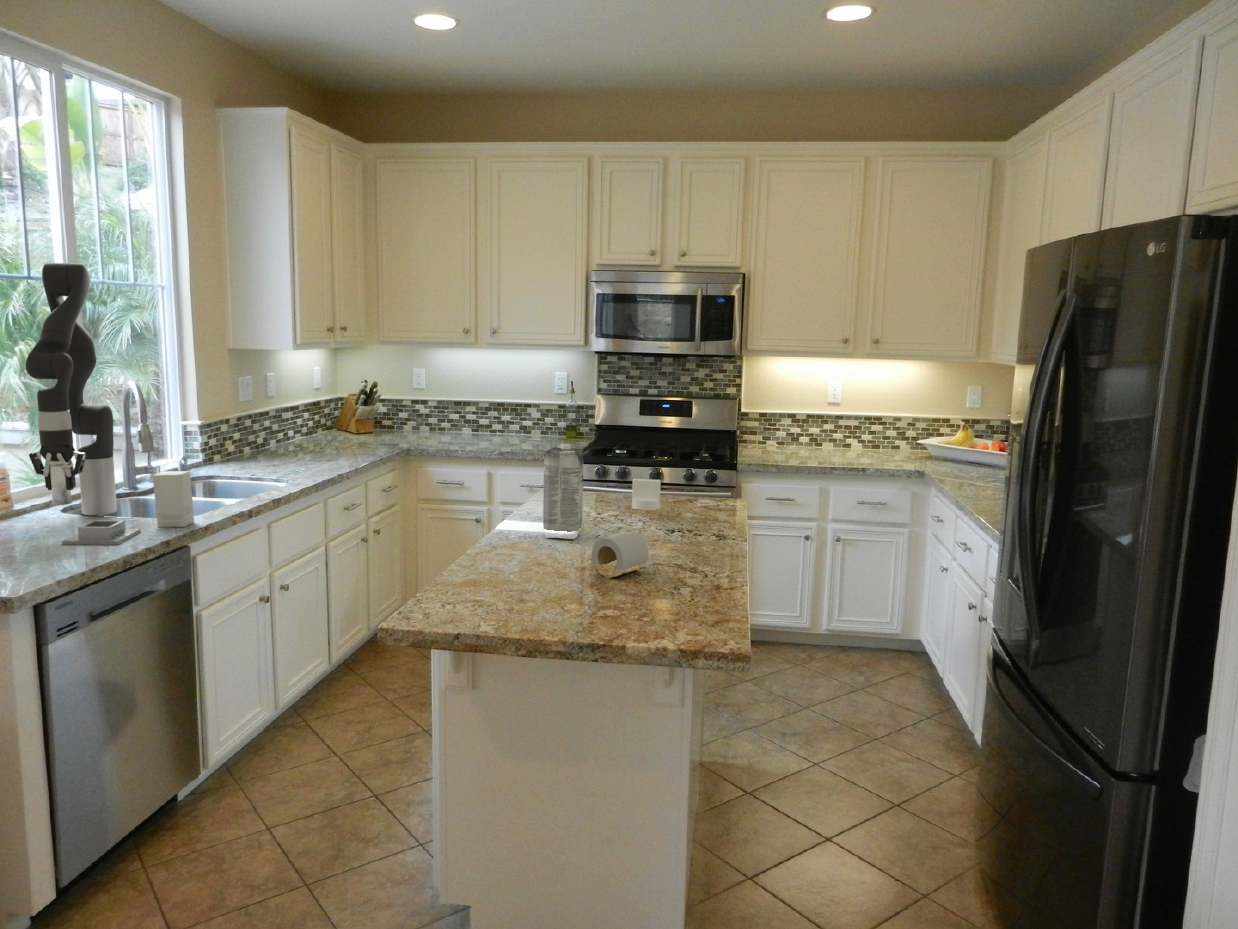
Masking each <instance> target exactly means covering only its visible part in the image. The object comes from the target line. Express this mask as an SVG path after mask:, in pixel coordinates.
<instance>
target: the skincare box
mask: <svg viewBox="0 0 1238 929" xmlns="http://www.w3.org/2000/svg"><path fill="white" fill-rule="evenodd" d="M152 481H153V491H154V492H153V493H154V503H155V513H156V523H157V527H158V528H180V527H181V528H185V527H188V526H190V525H191V524H193V523H194V522H195V515H194V503H193V494H192V493H193V492H192V479H191V471H190V470H189V471H188V470H187V471H186V470H185V471H184V470H183V471H180V470H178V471H176V470H175V471H174V470H173V471H171V470H170V471H169V470H168V471H167V470H166V471H165V470H164V471H163V470H162V471H160V472H157V473H156V474H153V475H152Z"/></svg>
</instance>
